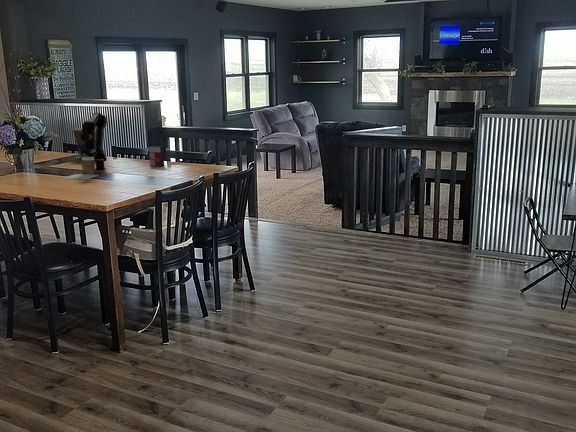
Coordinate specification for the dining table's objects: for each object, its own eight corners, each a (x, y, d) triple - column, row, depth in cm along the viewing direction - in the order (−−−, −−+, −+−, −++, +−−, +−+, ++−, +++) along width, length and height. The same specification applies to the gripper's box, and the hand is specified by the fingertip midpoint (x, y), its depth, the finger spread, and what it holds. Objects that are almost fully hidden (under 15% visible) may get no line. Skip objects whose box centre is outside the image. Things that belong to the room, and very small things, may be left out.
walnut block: (86, 173, 405) (84, 156, 402) (95, 174, 404) (93, 156, 401) (82, 174, 401) (81, 157, 398) (92, 175, 400) (90, 157, 397)
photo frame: (85, 157, 482) (82, 127, 476) (103, 159, 470) (100, 128, 464) (70, 160, 469) (67, 128, 463) (88, 162, 458) (85, 130, 452)
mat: (75, 174, 402) (75, 174, 402) (99, 175, 398) (99, 174, 398) (61, 178, 386) (61, 178, 386) (86, 179, 383) (86, 179, 383)
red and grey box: (149, 166, 436) (148, 146, 432) (152, 165, 439) (151, 145, 436) (161, 167, 431) (160, 147, 428) (164, 166, 435) (163, 146, 431)
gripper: (86, 138, 413) (88, 160, 416) (72, 140, 395) (74, 163, 398) (101, 138, 410) (103, 160, 414) (87, 141, 393) (89, 164, 396)
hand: (92, 162), depth 406 cm, fingers closed
